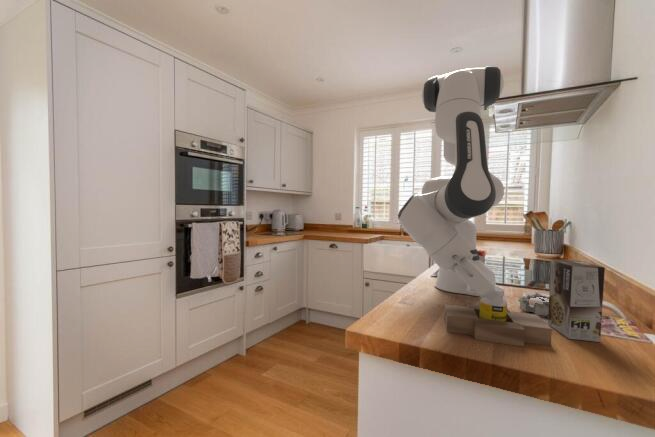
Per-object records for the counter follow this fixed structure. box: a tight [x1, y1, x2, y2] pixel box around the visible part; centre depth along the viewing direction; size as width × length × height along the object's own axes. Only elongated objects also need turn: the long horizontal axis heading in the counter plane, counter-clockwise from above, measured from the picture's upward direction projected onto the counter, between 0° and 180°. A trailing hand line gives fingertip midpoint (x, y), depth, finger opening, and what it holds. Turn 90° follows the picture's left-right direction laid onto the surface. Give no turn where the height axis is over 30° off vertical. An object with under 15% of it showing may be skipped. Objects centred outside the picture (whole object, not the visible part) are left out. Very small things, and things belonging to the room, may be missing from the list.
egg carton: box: [517, 292, 549, 317], centre depth 85 cm, size 11×8×4 cm
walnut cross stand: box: [443, 303, 553, 347], centre depth 70 cm, size 14×20×4 cm
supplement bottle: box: [479, 287, 508, 322], centre depth 70 cm, size 5×5×10 cm
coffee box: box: [547, 259, 606, 343], centre depth 69 cm, size 9×6×16 cm
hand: (496, 298), depth 69 cm, fingers open, 6 cm apart
